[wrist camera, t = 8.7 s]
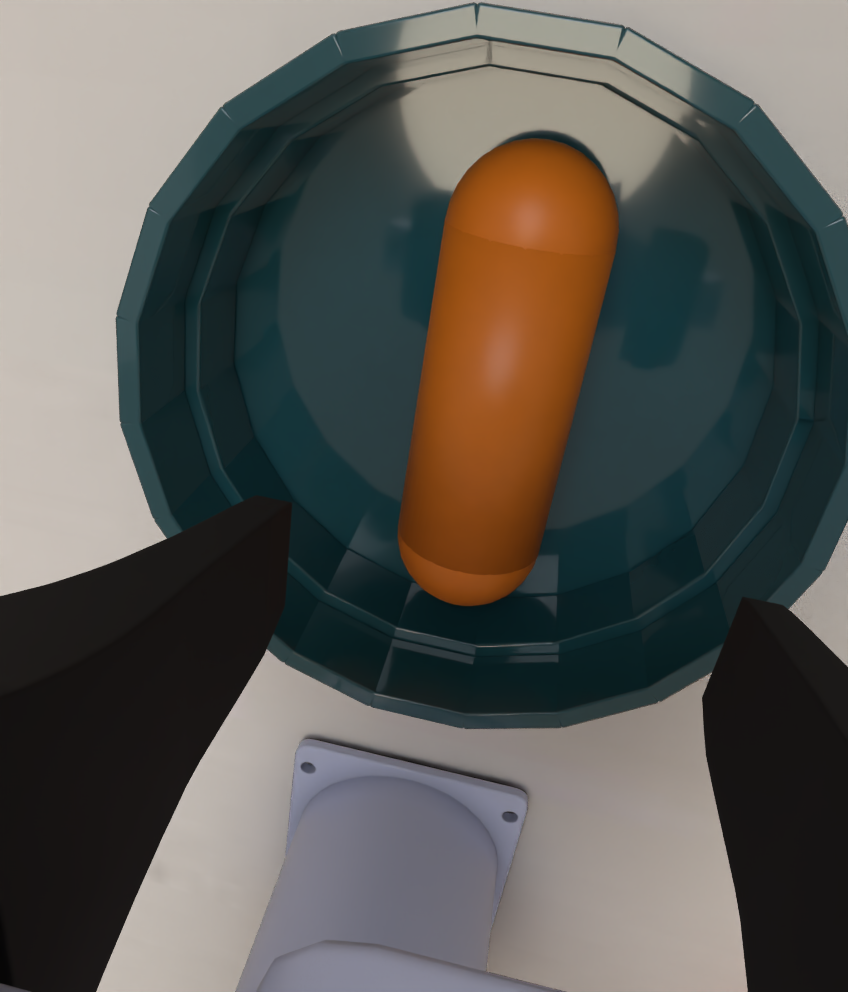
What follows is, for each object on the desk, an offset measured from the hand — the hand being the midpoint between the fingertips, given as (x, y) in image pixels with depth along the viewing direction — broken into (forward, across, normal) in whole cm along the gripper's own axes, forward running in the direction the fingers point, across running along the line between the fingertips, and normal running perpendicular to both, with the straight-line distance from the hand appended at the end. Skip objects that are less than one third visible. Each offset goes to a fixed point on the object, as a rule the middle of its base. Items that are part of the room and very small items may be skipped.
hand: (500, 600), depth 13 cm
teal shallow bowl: (+9, +1, -1) cm, 9 cm away
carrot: (+9, +1, -1) cm, 9 cm away
